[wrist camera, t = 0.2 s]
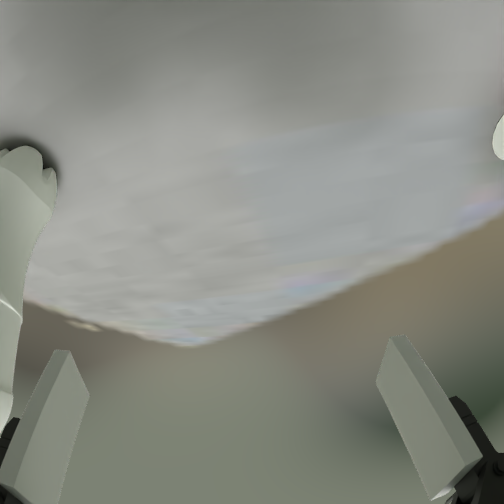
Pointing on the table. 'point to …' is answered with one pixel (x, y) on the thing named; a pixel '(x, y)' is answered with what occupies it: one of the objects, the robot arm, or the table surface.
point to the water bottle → (18, 247)
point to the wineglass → (499, 139)
